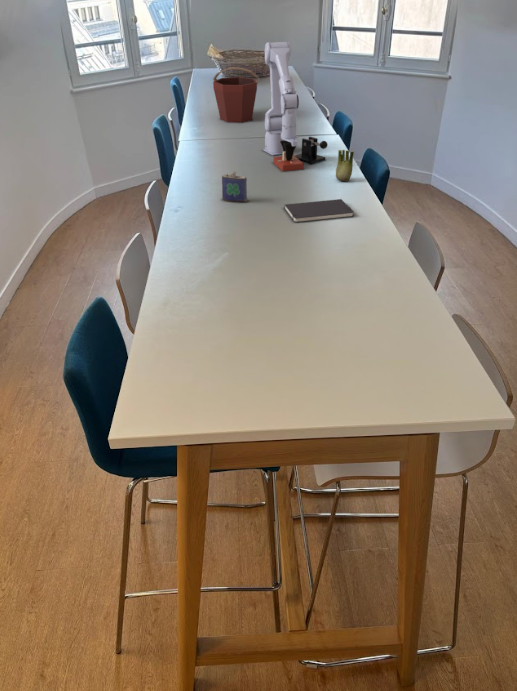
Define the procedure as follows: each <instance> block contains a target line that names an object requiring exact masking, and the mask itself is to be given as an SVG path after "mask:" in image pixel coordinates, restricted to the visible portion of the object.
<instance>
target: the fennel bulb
mask: <svg viewBox="0 0 517 691" xmlns="http://www.w3.org/2000/svg"><path fill="white" fill-rule="evenodd" d="M337 152H338V153H337V154H338V157H337V162H336V163H337V164H336V169H335V178H336V180H338V181H340V182H348V181H350V179H351V178H352V174H353V168H354V167H353V163H354V152H355V151H354V150H349V149H346V150H345V149H338V151H337Z"/></svg>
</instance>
